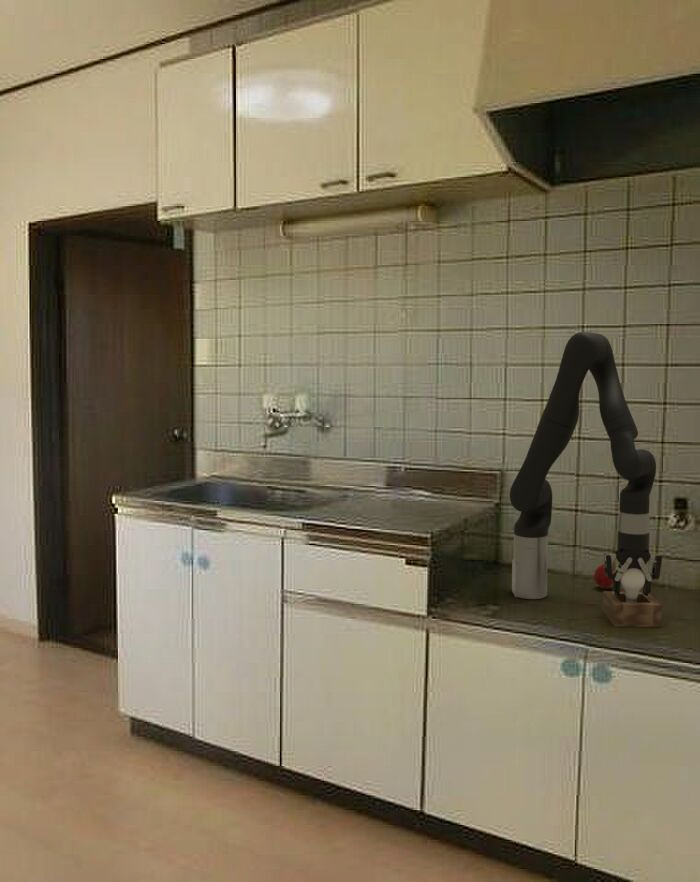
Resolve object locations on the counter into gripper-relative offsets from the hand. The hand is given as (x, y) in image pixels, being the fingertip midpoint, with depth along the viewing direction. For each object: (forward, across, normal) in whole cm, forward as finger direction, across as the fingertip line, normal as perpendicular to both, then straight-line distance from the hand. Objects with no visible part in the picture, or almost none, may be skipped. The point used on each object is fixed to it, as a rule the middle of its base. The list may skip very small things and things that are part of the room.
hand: (631, 594), depth 198 cm
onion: (+7, 0, +26) cm, 27 cm away
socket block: (+6, 0, 0) cm, 6 cm away
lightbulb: (+4, 0, 0) cm, 4 cm away
